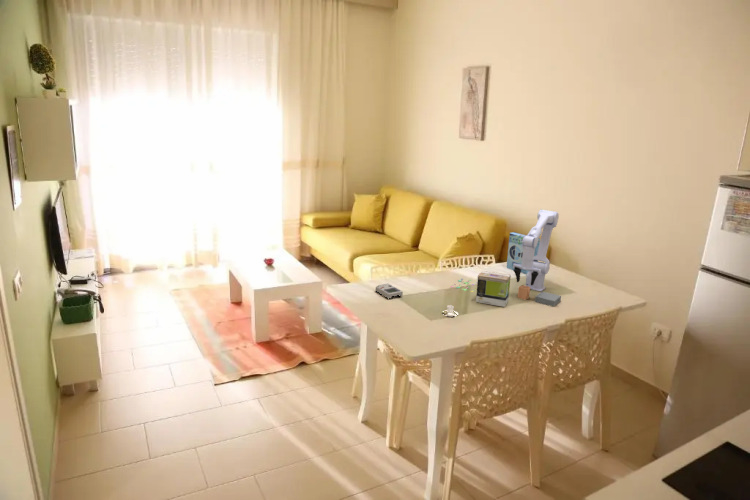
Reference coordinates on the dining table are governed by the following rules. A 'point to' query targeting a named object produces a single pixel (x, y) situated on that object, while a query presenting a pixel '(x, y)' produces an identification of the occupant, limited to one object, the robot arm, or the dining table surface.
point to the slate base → (548, 298)
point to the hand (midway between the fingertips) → (525, 283)
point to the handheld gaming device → (388, 290)
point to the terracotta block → (523, 292)
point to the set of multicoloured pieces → (465, 283)
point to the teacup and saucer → (450, 311)
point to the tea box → (493, 288)
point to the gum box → (517, 250)
